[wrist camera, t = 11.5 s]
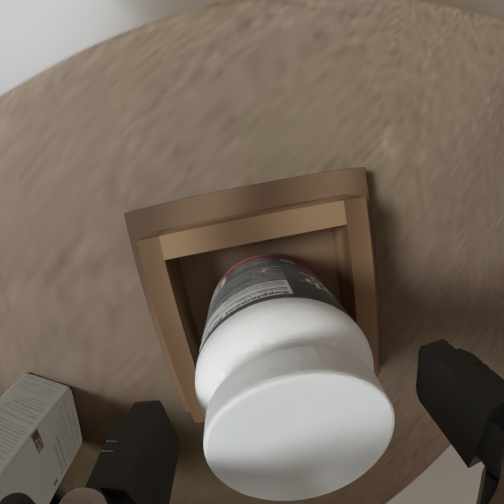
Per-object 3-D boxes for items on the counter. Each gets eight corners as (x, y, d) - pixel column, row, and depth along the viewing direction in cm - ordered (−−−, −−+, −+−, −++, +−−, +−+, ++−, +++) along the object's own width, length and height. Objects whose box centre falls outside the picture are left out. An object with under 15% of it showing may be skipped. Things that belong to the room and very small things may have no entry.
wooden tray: (357, 167, 16) (385, 165, 12) (374, 364, 18) (396, 395, 15) (130, 211, 16) (104, 219, 12) (187, 402, 18) (180, 439, 15)
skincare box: (85, 442, 19) (31, 558, 7) (39, 426, 19) (-24, 527, 7) (71, 382, 18) (-15, 510, 6) (21, 366, 18) (-71, 468, 6)
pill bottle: (339, 324, 16) (429, 454, 7) (245, 372, 17) (254, 528, 7) (292, 229, 15) (377, 299, 6) (189, 285, 16) (130, 417, 6)
